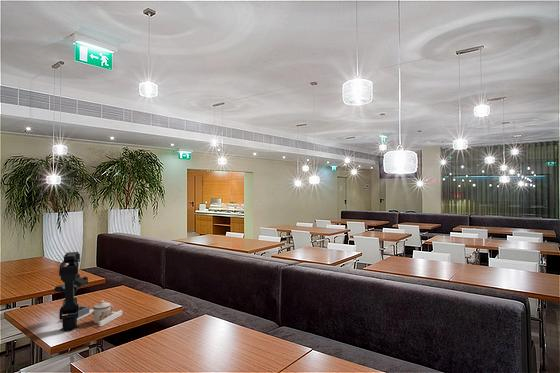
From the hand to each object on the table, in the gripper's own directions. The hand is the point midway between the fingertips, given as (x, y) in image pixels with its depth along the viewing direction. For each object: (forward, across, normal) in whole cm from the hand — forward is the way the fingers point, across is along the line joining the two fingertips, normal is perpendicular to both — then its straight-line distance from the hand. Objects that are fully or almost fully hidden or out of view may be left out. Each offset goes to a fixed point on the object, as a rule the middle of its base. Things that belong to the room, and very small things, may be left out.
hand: (71, 299), depth 197 cm
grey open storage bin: (+12, +4, -11) cm, 17 cm away
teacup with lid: (+12, +5, -19) cm, 23 cm away
